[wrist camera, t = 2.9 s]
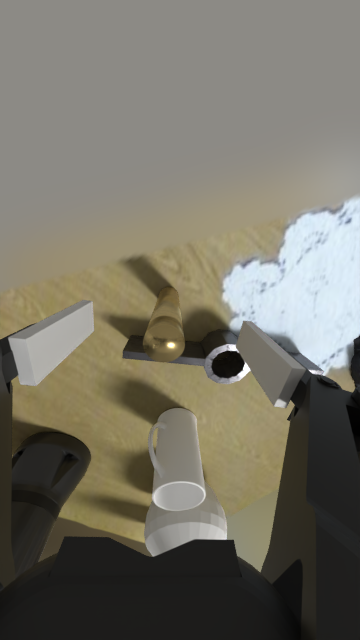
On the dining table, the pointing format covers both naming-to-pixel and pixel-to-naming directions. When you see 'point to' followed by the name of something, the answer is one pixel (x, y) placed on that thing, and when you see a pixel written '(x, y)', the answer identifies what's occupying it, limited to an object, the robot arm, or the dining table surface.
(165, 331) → the pin
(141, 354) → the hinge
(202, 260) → the dining table surface
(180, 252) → the dining table surface
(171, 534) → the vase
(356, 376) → the dark slate chunk
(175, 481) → the mug
